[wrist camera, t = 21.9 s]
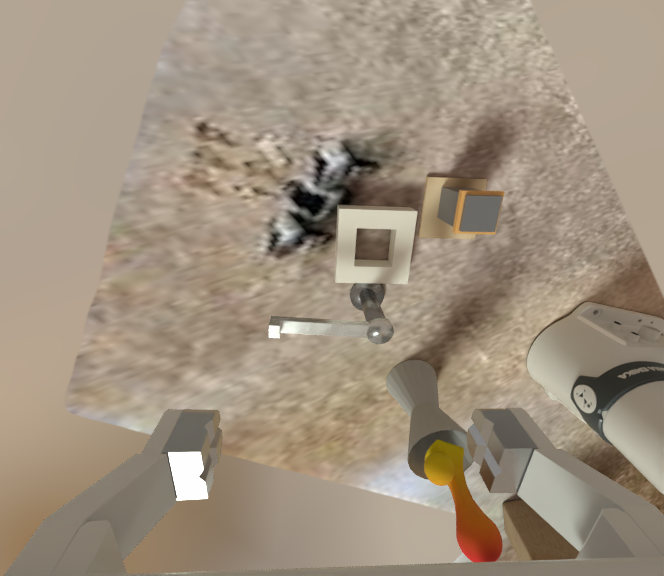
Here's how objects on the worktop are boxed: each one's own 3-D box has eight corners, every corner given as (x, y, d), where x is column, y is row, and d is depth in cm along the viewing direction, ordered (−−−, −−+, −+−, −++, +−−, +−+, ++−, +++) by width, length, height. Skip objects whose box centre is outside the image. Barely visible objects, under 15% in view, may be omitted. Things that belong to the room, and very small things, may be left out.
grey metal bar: (393, 317, 40) (398, 326, 38) (389, 340, 41) (393, 350, 39) (271, 310, 39) (269, 319, 37) (270, 333, 40) (268, 343, 38)
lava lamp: (447, 369, 56) (627, 669, 24) (420, 407, 59) (546, 719, 27) (401, 351, 54) (529, 650, 22) (375, 392, 57) (454, 707, 25)
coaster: (485, 179, 44) (487, 179, 44) (473, 238, 47) (474, 239, 47) (426, 176, 44) (427, 177, 43) (417, 236, 47) (419, 237, 46)
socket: (411, 207, 45) (417, 211, 42) (402, 276, 49) (407, 284, 46) (337, 204, 44) (339, 208, 42) (334, 274, 48) (335, 282, 46)
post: (384, 279, 49) (400, 308, 40) (381, 309, 51) (395, 344, 42) (351, 278, 49) (359, 308, 40) (349, 308, 51) (356, 343, 42)
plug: (475, 184, 44) (507, 192, 37) (468, 221, 46) (497, 235, 38) (439, 183, 44) (464, 191, 36) (433, 220, 45) (456, 234, 38)
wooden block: (501, 502, 71) (567, 627, 52) (548, 491, 70) (632, 614, 52) (503, 530, 75) (566, 656, 56) (548, 520, 74) (626, 644, 56)
